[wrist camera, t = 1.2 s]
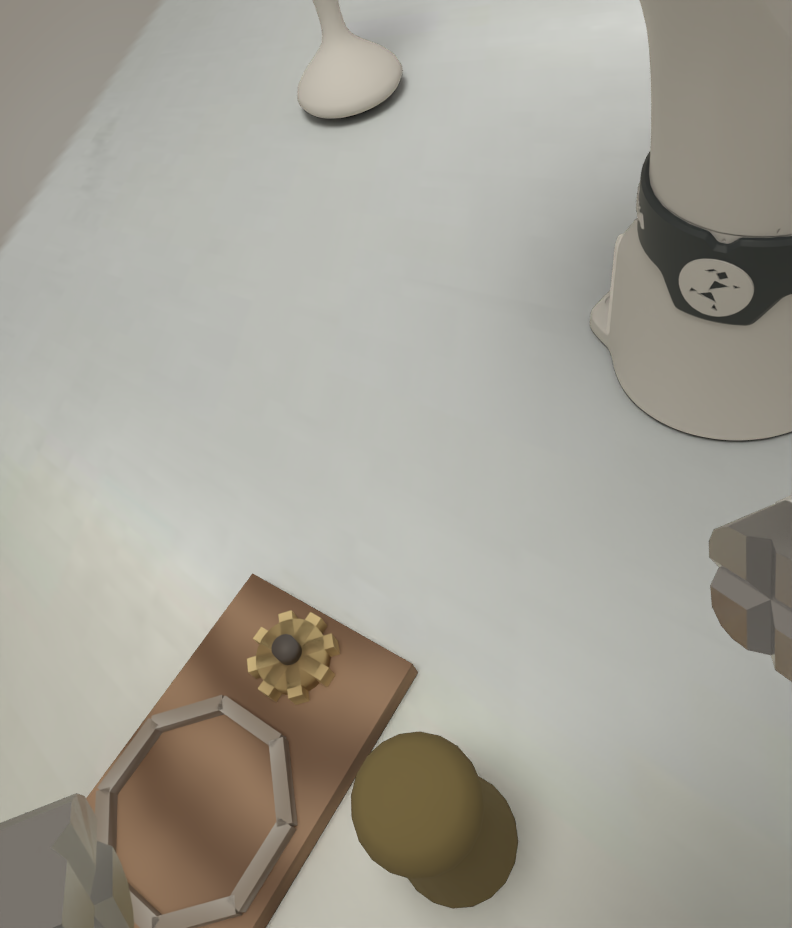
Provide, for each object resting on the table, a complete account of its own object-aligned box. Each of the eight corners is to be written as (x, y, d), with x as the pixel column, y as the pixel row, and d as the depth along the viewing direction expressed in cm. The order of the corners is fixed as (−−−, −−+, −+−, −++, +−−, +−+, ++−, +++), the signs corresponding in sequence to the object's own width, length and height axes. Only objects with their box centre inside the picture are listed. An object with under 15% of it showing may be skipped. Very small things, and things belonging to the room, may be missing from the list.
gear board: (261, 583, 46) (238, 557, 43) (417, 672, 41) (403, 649, 38) (-19, 967, 37) (-72, 967, 35) (132, 1148, 32) (84, 1167, 29)
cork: (377, 874, 36) (302, 844, 27) (423, 753, 38) (369, 689, 30) (493, 932, 33) (454, 920, 24) (534, 798, 36) (511, 744, 27)
